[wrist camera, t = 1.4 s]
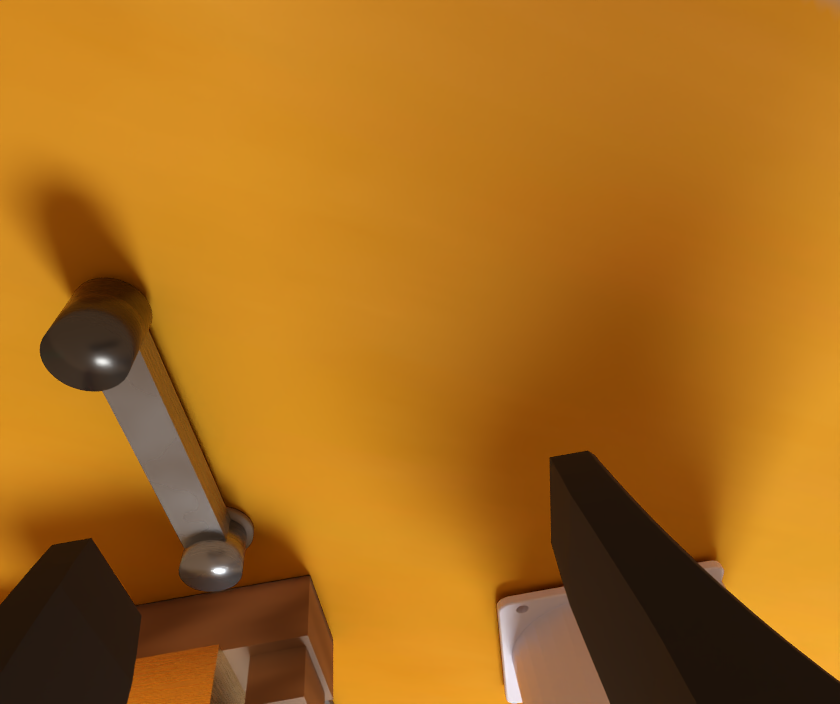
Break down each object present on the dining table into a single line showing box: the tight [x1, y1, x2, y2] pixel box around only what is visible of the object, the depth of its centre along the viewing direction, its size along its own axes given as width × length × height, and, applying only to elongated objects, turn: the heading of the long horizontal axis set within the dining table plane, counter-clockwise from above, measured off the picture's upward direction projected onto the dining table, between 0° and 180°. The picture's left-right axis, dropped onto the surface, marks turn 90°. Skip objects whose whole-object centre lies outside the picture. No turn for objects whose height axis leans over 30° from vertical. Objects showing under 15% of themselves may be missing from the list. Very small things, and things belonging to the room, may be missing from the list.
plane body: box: [136, 507, 333, 704], centre depth 22 cm, size 14×9×4 cm, turn 97°
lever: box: [40, 278, 247, 592], centre depth 19 cm, size 2×11×2 cm, turn 7°
